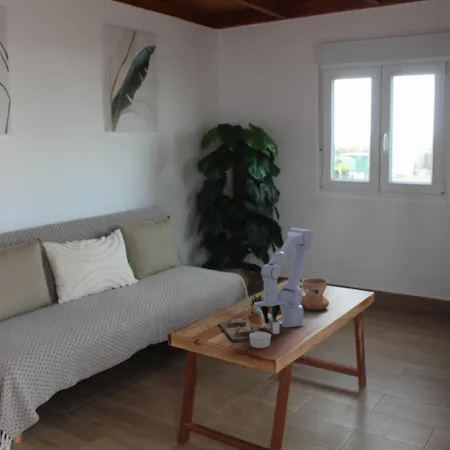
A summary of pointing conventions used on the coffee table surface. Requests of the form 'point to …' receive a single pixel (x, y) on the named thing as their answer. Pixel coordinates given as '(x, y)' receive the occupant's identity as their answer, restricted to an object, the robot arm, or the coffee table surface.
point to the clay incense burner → (314, 294)
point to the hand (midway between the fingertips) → (270, 322)
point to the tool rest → (238, 329)
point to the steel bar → (271, 323)
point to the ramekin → (260, 339)
